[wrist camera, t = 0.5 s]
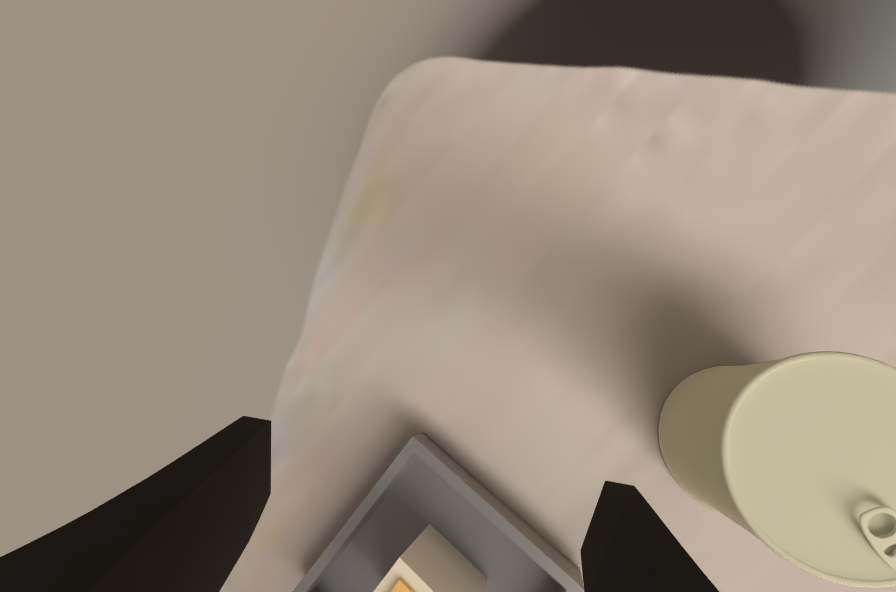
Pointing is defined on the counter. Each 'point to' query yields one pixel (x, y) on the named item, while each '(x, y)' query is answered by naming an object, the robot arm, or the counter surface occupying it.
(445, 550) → the block
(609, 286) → the counter surface
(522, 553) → the gray square tray
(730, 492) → the can
